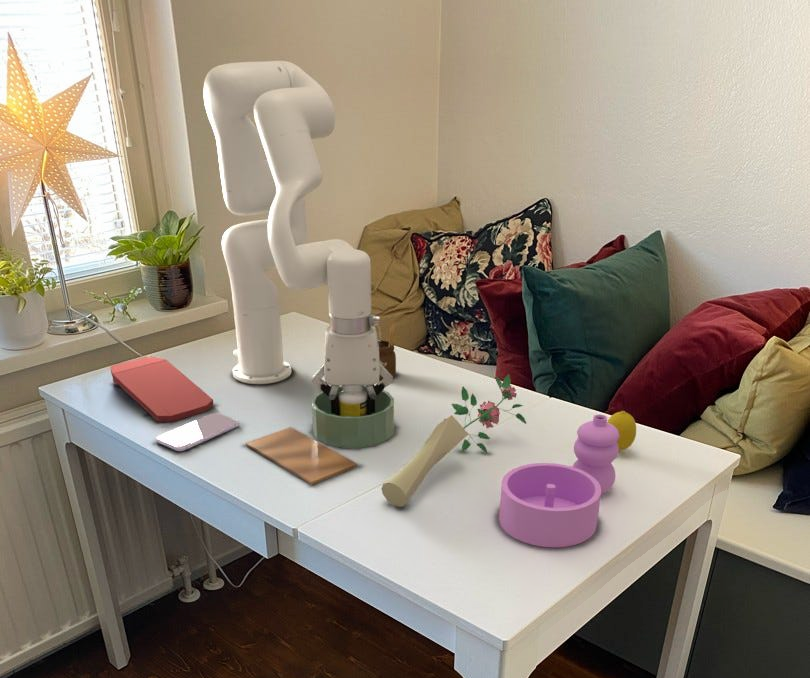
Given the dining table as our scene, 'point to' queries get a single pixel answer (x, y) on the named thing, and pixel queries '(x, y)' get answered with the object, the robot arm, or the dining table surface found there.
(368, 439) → the bowl
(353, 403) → the supplement bottle
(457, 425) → the flower vase
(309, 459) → the wooden board
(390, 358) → the utensil holder
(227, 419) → the mobile phone
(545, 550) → the dining table surface
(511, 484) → the container set
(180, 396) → the red wedge block
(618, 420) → the lemon
